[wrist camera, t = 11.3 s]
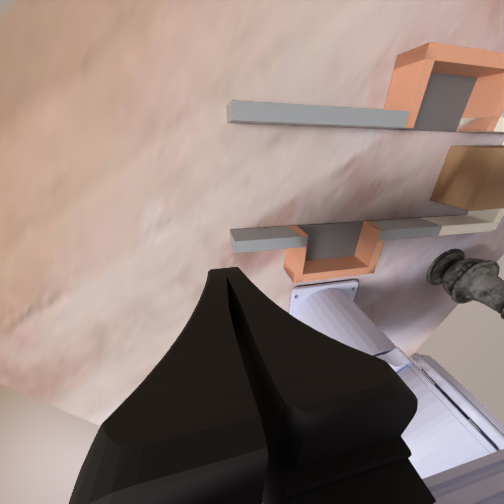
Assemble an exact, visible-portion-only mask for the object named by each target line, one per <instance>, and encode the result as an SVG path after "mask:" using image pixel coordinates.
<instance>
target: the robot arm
mask: <svg viewBox="0 0 504 504" xmlns="http://www.w3.org/2000/svg"><path fill="white" fill-rule="evenodd" d="M357 287H358V282H357V281H356V280H350V281H342V282H334V283H326V284H318V285H310V286H302V287H296V288H294V289H293V290H292V294H291V301H290V309H289V313H288V312H286V311H285V310H283V309H282V308H280V307H279V306H278V305H276V304H275V303H274V302H273V301H272V300H270V299H269V298H268V297H267V296H266V295H265V294H264V293H262V292H261V291H260V290H259V289H258V288H257V287H256V286H255V285H254V284H253V283H252V282H251V281H250V280H249V279H248V278H247V277H246V275H245V274H244V273H243V272H242V271H241V270H240V269H239V268H238V267H231V268H221V269H211V270H209V271H208V277H207V281H206V284H205V287H204V290H203V292H202V295H201V297H200V300H199V302H198V304H197V306H196V308H195V310H194V312H193V314H192V316H191V317H190V319H189V321H188V322H187V324H186V326H185V327H184V329H183V330H182V332H181V334H180V335H179V336H178V338H177V339H176V341H175V342H174V344H173V345H172V346H171V348H170V349H169V350H168V352H167V353H166V354H165V356H164V357H163V358H162V359H161V361H160V362H159V363H158V364H157V365H156V366H155V368H154V369H153V370H152V371H151V372H150V374H149V375H148V376H147V377H146V378H145V380H144V381H143V382H142V383H141V384H140V385H139V386H138V387H137V388H136V390H135V391H134V392H133V393H132V394H131V395H130V396H129V397H128V398H127V399H126V400H125V401H124V402H123V403H122V404H121V405H120V406H119V407H118V408H117V409H116V410H115V411H114V412H113V413H112V414H111V415H110V416H109V417H108V418H107V419H106V420H105V421H104V422H103V423H102V425H101V426H100V428H99V430H98V433H97V434H96V437H95V439H94V441H93V443H92V445H91V447H90V450H89V452H88V454H87V456H86V459H85V461H84V463H83V465H82V467H81V470H80V472H79V475H78V478H77V481H76V484H75V486H74V489H73V492H72V496H71V498H70V501H69V504H262V503H263V504H504V426H503V425H502V424H501V423H500V422H499V421H498V420H497V419H496V418H495V417H494V416H493V415H492V414H491V413H490V412H489V411H488V410H487V409H486V408H485V407H484V406H483V405H482V404H481V403H480V402H479V401H478V400H477V399H476V398H475V397H474V396H473V395H472V394H471V393H470V392H469V391H468V390H467V389H465V388H464V387H463V386H462V385H461V384H460V383H459V382H458V381H457V380H456V379H455V378H454V377H453V376H452V375H450V374H449V373H448V372H447V371H446V370H445V369H444V368H443V367H442V366H441V365H439V364H438V363H437V362H436V361H435V360H434V359H432V358H431V357H430V356H427V355H420V354H418V353H414V354H413V355H412V356H410V357H411V358H412V359H413V360H414V361H415V362H416V363H417V364H418V365H419V366H420V367H421V368H422V370H423V371H424V373H425V374H426V375H427V376H428V377H429V378H430V379H431V380H432V381H433V382H434V383H435V385H434V384H433V383H432V382H431V381H430V379H429V378H428V377H427V376H426V375H425V374H424V373H423V372H422V371H421V370H420V369H419V368H418V367H417V366H416V365H415V364H414V363H413V362H412V361H411V360H410V359H409V358H408V357H407V356H406V355H405V354H404V353H403V352H402V351H401V350H400V349H399V348H398V347H396V346H395V345H394V343H393V342H392V341H391V340H390V339H389V338H388V337H387V336H386V335H385V334H384V333H383V332H382V331H381V330H380V329H379V328H378V327H377V326H376V325H375V324H374V323H373V321H372V320H371V319H370V318H369V317H368V316H367V315H366V314H365V313H364V312H363V311H362V310H361V309H360V308H359V307H358V306H357V305H356V304H355V303H354V302H353V300H354V297H355V294H356V291H357ZM295 295H297V296H295ZM468 419H470V420H471V421H472V422H473V423H474V424H475V425H476V426H477V427H478V428H479V430H480V431H479V430H478V429H477V428H476V427H475V426H474V425H473V424H472V423H471V422H470V421H469V420H468Z"/></svg>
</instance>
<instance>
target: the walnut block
mask: <svg viewBox="0 0 504 504" xmlns="http://www.w3.org/2000/svg"><path fill="white" fill-rule="evenodd" d="M430 200H431V201H435V202H438V203H442V204H446V205H449V206H453V207H457V208H460V209H464V210H468V211H478V210H489V209H501V208H504V146H501V145H497V146H450V149H449V151H448V154H447V157H446V159H445V162H444V164H443V167H442V170H441V172H440V175H439V178H438V180H437V183H436V185H435V188H434V191H433V193H432V196H431V198H430Z"/></svg>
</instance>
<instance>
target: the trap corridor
mask: <svg viewBox="0 0 504 504" xmlns="http://www.w3.org/2000/svg"><path fill="white" fill-rule="evenodd" d="M503 110H504V53H501V52H494V51H487V50H480V49H473V48H466V47H459V46H452V45H445V44H438V43H431V42H429V43H427V44H424V45H422V46H419V47H417V48H414V49H412V50H409V51H407V52H404V53H402V54H399V55H398V56H397V60H396V64H395V68H394V72H393V75H392V79H391V83H390V87H389V91H388V95H387V99H386V103H385V107H384V110H382V109H366V108H350V107H334V106H318V105H301V104H285V103H269V102H253V101H237V100H232V101H231V102H230V103H229V104H228V105H227V123H248V124H273V125H298V126H323V127H348V128H373V129H398V130H423V131H448V132H473V133H498V134H504V117H500V116H501V114H502V112H503ZM501 146H504V141H503V143H502V145H501ZM503 216H504V208H501V209H489V210H478V211H468V213H467V215H457V216H440V217H424V218H408V219H392V220H376V221H360V222H344V223H328V224H312V225H296V226H280V227H264V228H248V229H231V230H230V241H231V244H232V247H233V250H234V253H241V252H253V251H264V250H276V249H286V253H285V262H284V269H285V271H286V272H287V274H288V275H289V277H290V278H291V280H292V281H293V283H295V282H303V281H311V280H320V279H328V278H336V277H345V276H353V275H361V274H370V273H374V271H375V268H376V265H377V262H378V259H379V256H380V253H381V250H382V247H383V244H384V241H385V240H394V239H406V238H417V237H429V236H441V235H453V234H464V233H476V232H488V231H495V230H496V228H497V226H498V225H499V223H500V221H501V219H502V218H503Z"/></svg>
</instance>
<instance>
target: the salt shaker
mask: <svg viewBox="0 0 504 504" xmlns="http://www.w3.org/2000/svg"><path fill="white" fill-rule="evenodd" d="M498 274H499V265H498V263H497V262H495V261H490V260H488V261H485V260H482V259H473V258H469V259H465V255H464V252H463V251H461V250H460V249H451V250H448V251H446V252H444V253H443V254H441V255H440V256H439V257H437V258H436V259H435V260H434V262H433V263H432V264H431V266H430V267H429V269H428V272H427V276H426V278H427V281H428V282H429V283H430V284H433V285H438V284H442V283H443V288H444V289H445V291H446V292H447V293H448V294H449V295H450V296H451V297H452V300H453V301H454V302H456V303H467V302H470V301H472V300H475V301H478V302H481V303H483V304H485V305H487V306H488V307H490V308H492V309H493V310H495V311H497V312H498V313H500V314H501V318H502V319H504V280H502V279H501V278H500V277H498Z"/></svg>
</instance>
